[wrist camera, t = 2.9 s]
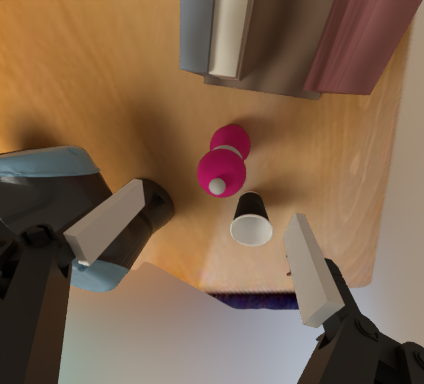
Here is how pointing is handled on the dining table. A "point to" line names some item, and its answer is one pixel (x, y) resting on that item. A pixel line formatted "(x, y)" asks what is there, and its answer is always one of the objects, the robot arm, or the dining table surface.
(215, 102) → the dining table surface
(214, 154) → the pepper mill
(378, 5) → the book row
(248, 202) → the dixie cup
